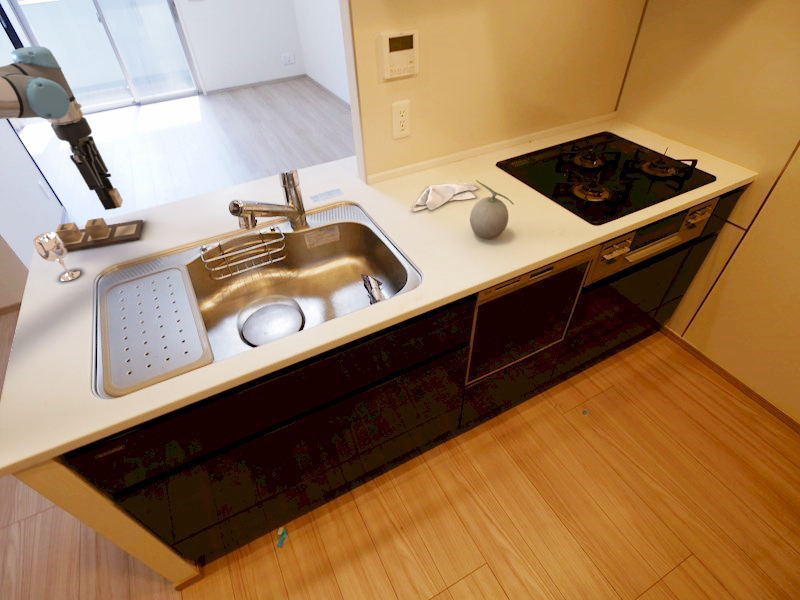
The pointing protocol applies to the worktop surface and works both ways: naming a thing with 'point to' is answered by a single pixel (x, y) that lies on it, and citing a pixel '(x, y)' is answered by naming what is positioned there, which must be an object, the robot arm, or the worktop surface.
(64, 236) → the tile
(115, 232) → the board
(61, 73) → the robot arm
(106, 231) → the tile
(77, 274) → the wineglass
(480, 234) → the fruit
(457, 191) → the cloth
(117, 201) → the tile
